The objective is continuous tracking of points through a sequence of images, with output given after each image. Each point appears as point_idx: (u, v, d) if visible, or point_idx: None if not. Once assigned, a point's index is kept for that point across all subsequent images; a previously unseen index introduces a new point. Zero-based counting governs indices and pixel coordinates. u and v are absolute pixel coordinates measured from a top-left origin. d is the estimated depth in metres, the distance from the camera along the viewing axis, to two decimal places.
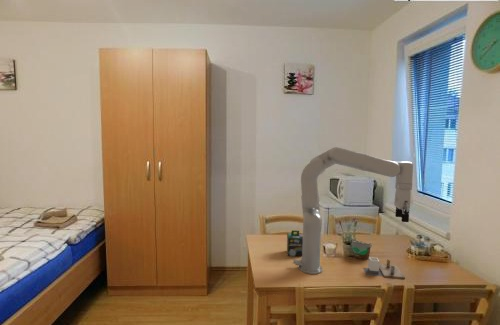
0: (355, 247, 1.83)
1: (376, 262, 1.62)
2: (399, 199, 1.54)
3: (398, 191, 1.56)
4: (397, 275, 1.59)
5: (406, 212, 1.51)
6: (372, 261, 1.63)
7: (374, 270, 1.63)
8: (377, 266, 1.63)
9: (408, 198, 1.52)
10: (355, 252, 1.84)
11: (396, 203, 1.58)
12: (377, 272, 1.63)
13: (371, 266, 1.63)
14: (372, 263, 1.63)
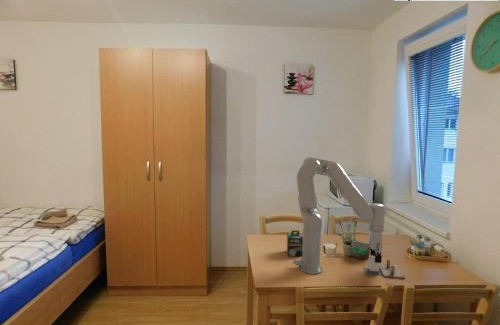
0: (355, 247, 1.83)
1: None
2: (372, 240, 1.61)
3: (371, 232, 1.63)
4: (397, 275, 1.59)
5: (378, 254, 1.57)
6: (372, 261, 1.63)
7: (374, 270, 1.63)
8: (377, 266, 1.63)
9: (380, 240, 1.59)
10: (355, 252, 1.84)
11: (370, 243, 1.65)
12: (377, 272, 1.63)
13: (371, 266, 1.63)
14: (372, 263, 1.63)
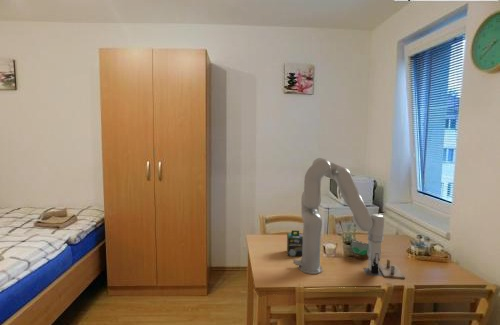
0: (355, 247, 1.83)
1: None
2: (370, 251, 1.61)
3: (370, 242, 1.63)
4: (397, 275, 1.59)
5: (375, 265, 1.60)
6: None
7: None
8: None
9: (379, 250, 1.59)
10: (355, 252, 1.84)
11: (368, 253, 1.65)
12: None
13: (371, 266, 1.63)
14: None
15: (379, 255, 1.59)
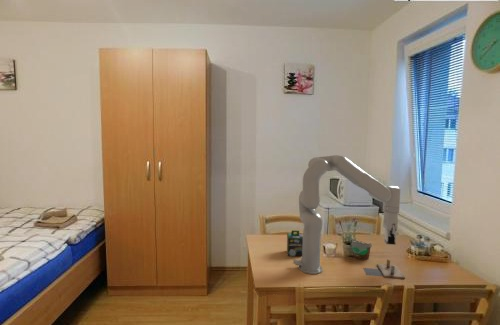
0: (355, 247, 1.83)
1: None
2: (387, 222, 1.65)
3: (386, 214, 1.66)
4: (397, 275, 1.59)
5: (392, 235, 1.64)
6: None
7: None
8: None
9: (395, 221, 1.63)
10: (355, 252, 1.84)
11: (384, 225, 1.69)
12: None
13: None
14: None
15: (396, 225, 1.63)
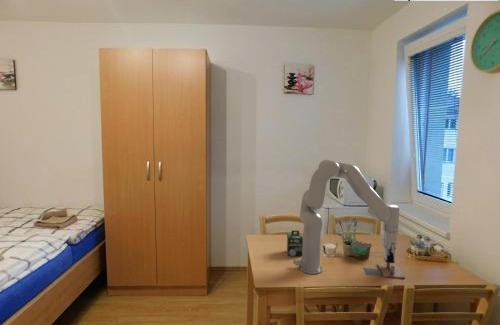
0: (355, 247, 1.83)
1: None
2: (386, 240, 1.66)
3: (385, 233, 1.67)
4: (397, 275, 1.59)
5: (391, 254, 1.64)
6: None
7: None
8: None
9: (394, 240, 1.63)
10: (355, 252, 1.84)
11: (384, 243, 1.70)
12: None
13: None
14: None
15: (395, 245, 1.64)
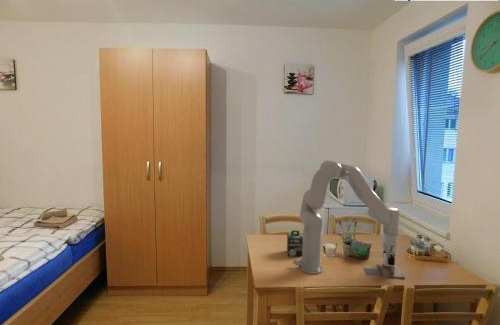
0: (355, 247, 1.83)
1: None
2: (386, 243, 1.66)
3: (385, 235, 1.67)
4: (397, 275, 1.59)
5: (392, 256, 1.62)
6: (387, 256, 1.67)
7: (389, 265, 1.67)
8: None
9: (394, 243, 1.64)
10: (355, 252, 1.84)
11: (383, 246, 1.70)
12: None
13: (386, 261, 1.67)
14: (387, 258, 1.67)
15: (394, 247, 1.64)
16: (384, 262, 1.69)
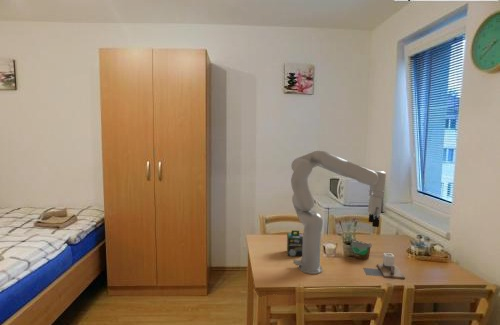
0: (355, 247, 1.83)
1: (391, 257, 1.67)
2: (371, 205, 1.67)
3: (371, 198, 1.69)
4: (397, 275, 1.59)
5: (376, 218, 1.64)
6: (387, 256, 1.67)
7: (389, 265, 1.67)
8: (392, 261, 1.67)
9: (379, 205, 1.65)
10: (355, 252, 1.84)
11: (369, 209, 1.71)
12: None
13: (386, 261, 1.67)
14: (387, 258, 1.67)
15: (379, 209, 1.65)
16: (384, 262, 1.69)
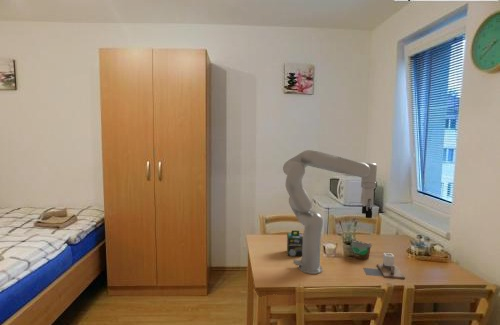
0: (355, 247, 1.83)
1: (391, 257, 1.67)
2: (364, 197, 1.68)
3: (363, 190, 1.70)
4: (397, 275, 1.59)
5: (369, 209, 1.65)
6: (387, 256, 1.67)
7: (389, 265, 1.67)
8: (392, 261, 1.67)
9: (371, 196, 1.66)
10: (355, 252, 1.84)
11: (362, 201, 1.73)
12: None
13: (386, 261, 1.67)
14: (387, 258, 1.67)
15: (372, 200, 1.66)
16: (384, 262, 1.69)
